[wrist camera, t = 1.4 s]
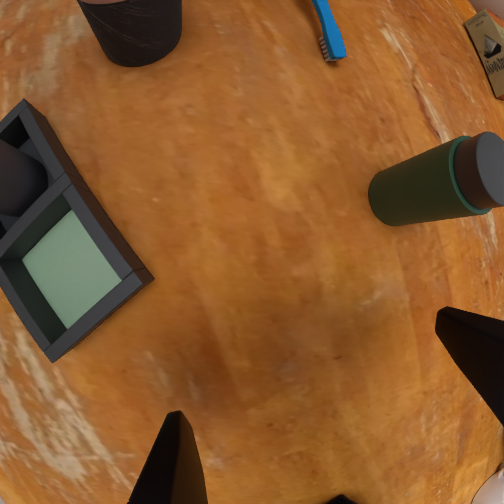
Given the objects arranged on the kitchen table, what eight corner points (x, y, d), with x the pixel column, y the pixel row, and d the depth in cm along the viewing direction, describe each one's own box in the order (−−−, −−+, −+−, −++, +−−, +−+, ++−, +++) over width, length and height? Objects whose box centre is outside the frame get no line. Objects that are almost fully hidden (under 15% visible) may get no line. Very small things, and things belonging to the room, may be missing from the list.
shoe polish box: (503, 20, 23) (537, 94, 23) (482, 33, 28) (512, 104, 28) (485, 8, 22) (523, 86, 22) (463, 23, 27) (496, 97, 27)
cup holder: (154, 278, 22) (143, 283, 18) (73, 348, 21) (52, 364, 17) (45, 116, 21) (23, 97, 17) (-22, 186, 20) (-48, 179, 16)
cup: (516, 509, 22) (494, 494, 29) (538, 467, 22) (513, 452, 29) (487, 532, 21) (465, 513, 28) (511, 489, 21) (485, 472, 28)
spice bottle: (422, 202, 25) (527, 180, 13) (392, 237, 25) (502, 229, 13) (391, 159, 25) (490, 112, 13) (357, 192, 24) (460, 153, 12)
